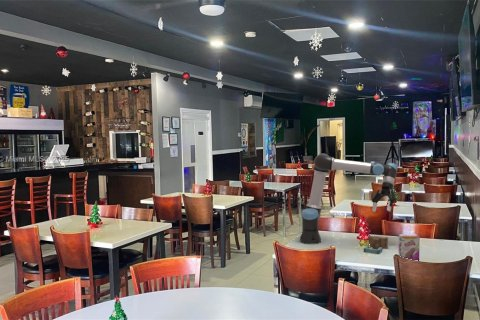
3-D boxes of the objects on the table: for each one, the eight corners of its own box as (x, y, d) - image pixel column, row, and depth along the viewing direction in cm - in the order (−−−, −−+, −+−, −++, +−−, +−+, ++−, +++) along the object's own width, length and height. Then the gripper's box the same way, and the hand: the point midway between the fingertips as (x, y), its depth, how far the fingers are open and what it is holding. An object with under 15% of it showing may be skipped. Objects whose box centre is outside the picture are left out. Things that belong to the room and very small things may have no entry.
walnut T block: (366, 248, 285) (366, 238, 285) (370, 245, 293) (370, 235, 293) (384, 250, 278) (384, 240, 278) (387, 247, 286) (387, 237, 286)
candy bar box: (400, 263, 252) (400, 236, 251) (398, 260, 257) (398, 234, 256) (419, 263, 251) (419, 236, 250) (417, 260, 256) (417, 234, 255)
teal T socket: (363, 252, 277) (363, 248, 277) (367, 249, 284) (367, 245, 283) (378, 254, 271) (378, 250, 271) (382, 251, 278) (382, 247, 278)
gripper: (405, 184, 290) (398, 212, 283) (378, 187, 312) (371, 213, 305) (398, 179, 288) (391, 208, 281) (371, 183, 309) (364, 209, 302)
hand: (380, 211), depth 293 cm, fingers open, 13 cm apart
